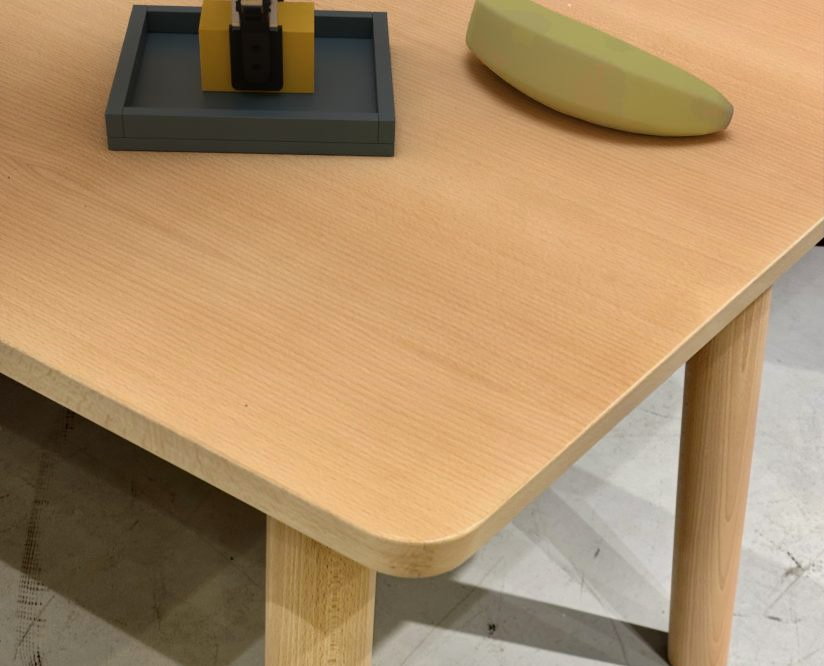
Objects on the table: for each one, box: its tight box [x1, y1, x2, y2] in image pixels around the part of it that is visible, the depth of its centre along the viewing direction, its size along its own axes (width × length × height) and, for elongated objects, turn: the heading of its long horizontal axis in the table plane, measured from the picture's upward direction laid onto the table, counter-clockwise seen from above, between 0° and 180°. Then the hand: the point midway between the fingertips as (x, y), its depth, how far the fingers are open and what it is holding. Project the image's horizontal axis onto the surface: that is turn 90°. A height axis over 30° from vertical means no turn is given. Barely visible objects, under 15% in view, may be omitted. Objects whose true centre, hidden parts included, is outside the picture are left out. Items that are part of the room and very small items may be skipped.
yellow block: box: [199, 0, 315, 93], centre depth 87 cm, size 7×5×4 cm, turn 93°
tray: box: [104, 4, 397, 157], centre depth 88 cm, size 17×16×2 cm
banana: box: [465, 0, 735, 137], centre depth 91 cm, size 14×6×20 cm
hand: (258, 67), depth 88 cm, fingers closed on yellow block, 4 cm apart
